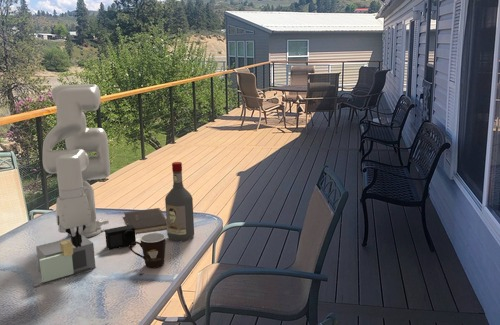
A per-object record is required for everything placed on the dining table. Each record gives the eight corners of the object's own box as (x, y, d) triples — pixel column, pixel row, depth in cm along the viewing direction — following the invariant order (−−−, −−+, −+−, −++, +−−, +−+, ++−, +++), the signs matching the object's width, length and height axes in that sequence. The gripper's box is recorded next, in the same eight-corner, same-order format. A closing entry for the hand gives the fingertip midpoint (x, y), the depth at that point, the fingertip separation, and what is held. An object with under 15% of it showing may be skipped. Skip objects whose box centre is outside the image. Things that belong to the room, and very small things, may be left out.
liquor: (178, 231, 214) (174, 159, 207) (197, 235, 210) (193, 161, 203) (164, 239, 206) (159, 164, 199) (183, 243, 202) (179, 166, 195)
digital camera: (109, 251, 196) (108, 233, 194) (106, 246, 200) (104, 229, 199) (137, 246, 200) (135, 228, 199) (133, 241, 205) (131, 224, 203)
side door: (72, 272, 177) (68, 239, 174) (75, 275, 175) (72, 242, 172) (41, 281, 171) (37, 247, 168) (44, 284, 169) (40, 250, 166)
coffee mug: (171, 261, 186) (170, 234, 184) (159, 271, 178) (158, 243, 176) (142, 257, 190) (140, 231, 188) (129, 267, 182) (127, 239, 180)
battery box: (84, 258, 190) (82, 234, 188) (97, 269, 181) (95, 244, 179) (23, 275, 177) (20, 250, 175) (34, 287, 168) (31, 261, 166)
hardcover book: (131, 235, 213) (130, 229, 213) (124, 217, 234) (123, 212, 234) (170, 229, 218) (170, 224, 218) (160, 212, 239) (159, 207, 239)
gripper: (89, 185, 178) (94, 237, 182) (44, 194, 169) (50, 248, 173) (98, 190, 172) (103, 243, 176) (52, 200, 163) (58, 255, 167)
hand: (77, 245), depth 175 cm, fingers closed
